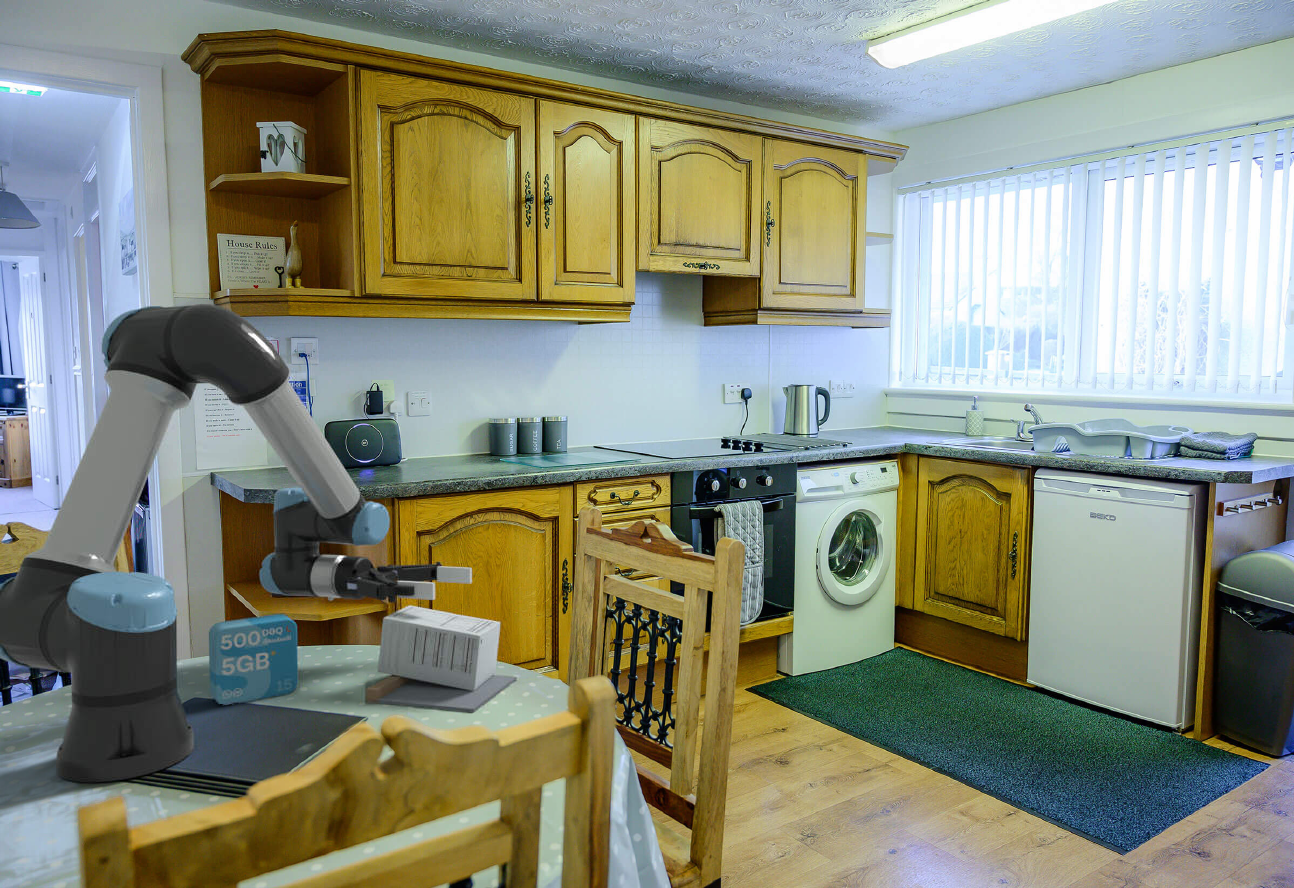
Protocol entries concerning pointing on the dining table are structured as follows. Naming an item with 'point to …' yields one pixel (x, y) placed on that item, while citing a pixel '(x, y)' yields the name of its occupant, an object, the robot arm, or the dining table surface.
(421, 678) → the supplement box
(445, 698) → the topple mat
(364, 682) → the dining table surface
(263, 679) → the data package
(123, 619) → the robot arm
